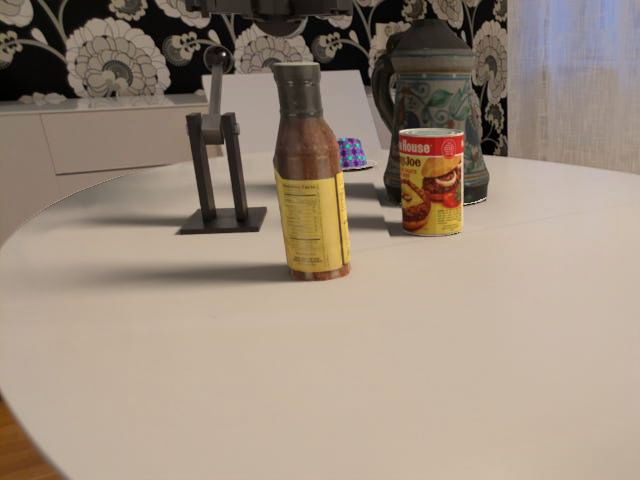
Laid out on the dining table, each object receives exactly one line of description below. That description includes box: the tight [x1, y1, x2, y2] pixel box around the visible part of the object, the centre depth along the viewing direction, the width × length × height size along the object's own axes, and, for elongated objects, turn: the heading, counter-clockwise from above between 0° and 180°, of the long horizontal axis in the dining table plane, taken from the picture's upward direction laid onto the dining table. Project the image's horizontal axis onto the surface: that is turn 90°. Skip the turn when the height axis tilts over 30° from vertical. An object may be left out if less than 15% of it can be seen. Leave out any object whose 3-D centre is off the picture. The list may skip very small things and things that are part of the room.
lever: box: [201, 44, 234, 146], centre depth 85 cm, size 17×4×4 cm
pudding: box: [336, 137, 378, 169], centre depth 131 cm, size 12×12×5 cm
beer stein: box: [370, 18, 491, 204], centre depth 101 cm, size 16×19×25 cm
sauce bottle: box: [272, 61, 352, 282], centre depth 63 cm, size 6×6×20 cm
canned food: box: [399, 128, 464, 237], centre depth 84 cm, size 8×8×12 cm
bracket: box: [179, 111, 268, 236], centre depth 84 cm, size 12×9×14 cm
